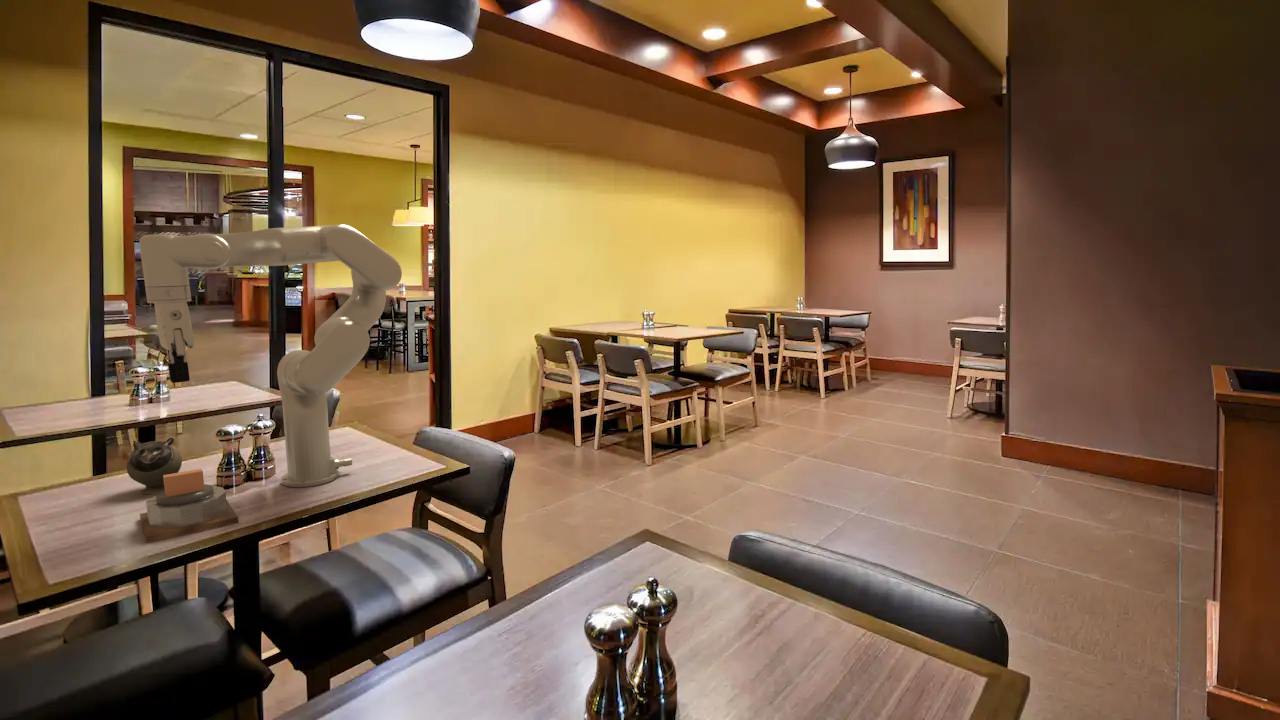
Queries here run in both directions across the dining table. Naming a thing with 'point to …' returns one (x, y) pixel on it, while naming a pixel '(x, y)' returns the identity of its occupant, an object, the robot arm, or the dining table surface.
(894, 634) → the dining table surface
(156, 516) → the grey stone basin
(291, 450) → the robot arm
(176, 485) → the multicoloured piece
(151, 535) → the mount plate
